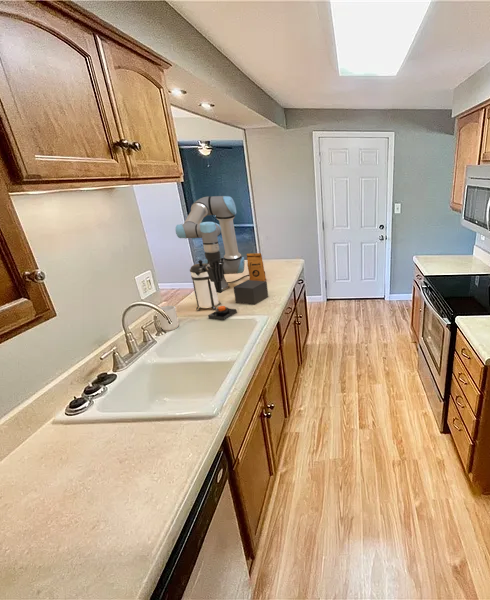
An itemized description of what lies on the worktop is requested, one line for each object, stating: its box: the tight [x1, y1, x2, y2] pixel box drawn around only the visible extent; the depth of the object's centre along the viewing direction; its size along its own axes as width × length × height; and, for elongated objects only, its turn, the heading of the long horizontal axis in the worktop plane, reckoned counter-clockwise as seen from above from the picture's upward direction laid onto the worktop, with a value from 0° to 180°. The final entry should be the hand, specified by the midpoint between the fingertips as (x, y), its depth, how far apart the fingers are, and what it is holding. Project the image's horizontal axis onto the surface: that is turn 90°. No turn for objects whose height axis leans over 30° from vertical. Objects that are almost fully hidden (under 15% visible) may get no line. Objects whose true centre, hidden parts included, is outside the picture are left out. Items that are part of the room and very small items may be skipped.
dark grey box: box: [233, 279, 269, 306], centre depth 214 cm, size 16×14×11 cm
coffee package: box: [246, 252, 267, 281], centre depth 252 cm, size 10×12×22 cm
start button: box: [217, 305, 227, 311], centre depth 190 cm, size 4×4×2 cm
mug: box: [155, 305, 180, 332], centre depth 175 cm, size 12×9×11 cm
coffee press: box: [189, 259, 221, 312], centre depth 199 cm, size 17×16×30 cm
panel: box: [207, 306, 238, 321], centre depth 190 cm, size 12×10×4 cm
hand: (219, 292), depth 186 cm, fingers closed
